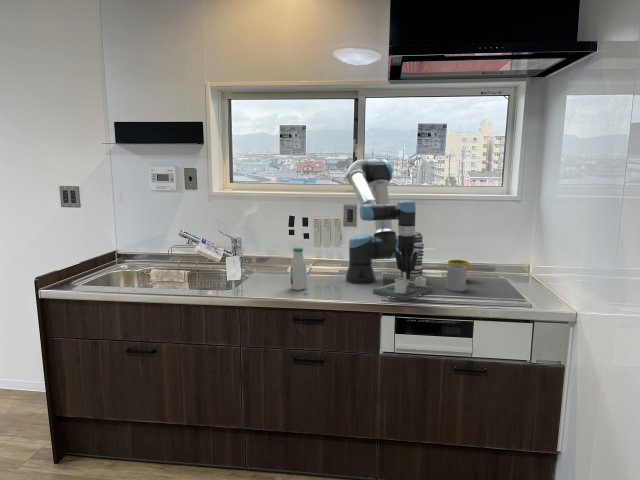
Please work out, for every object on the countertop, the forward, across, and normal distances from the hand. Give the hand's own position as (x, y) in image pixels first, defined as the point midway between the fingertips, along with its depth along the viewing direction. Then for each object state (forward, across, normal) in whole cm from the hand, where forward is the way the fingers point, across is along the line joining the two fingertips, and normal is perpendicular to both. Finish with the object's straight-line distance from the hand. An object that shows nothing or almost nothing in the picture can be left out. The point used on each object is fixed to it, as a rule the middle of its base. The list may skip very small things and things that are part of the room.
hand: (405, 285), depth 205 cm
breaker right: (+1, +3, +8) cm, 8 cm away
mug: (+4, +13, +23) cm, 26 cm away
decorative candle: (+4, -9, +21) cm, 23 cm away
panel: (+3, -1, 0) cm, 4 cm away
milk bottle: (+4, -42, -28) cm, 51 cm away
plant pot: (+4, +6, +38) cm, 38 cm away
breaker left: (+1, +3, -8) cm, 9 cm away
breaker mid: (+1, -3, 0) cm, 3 cm away
